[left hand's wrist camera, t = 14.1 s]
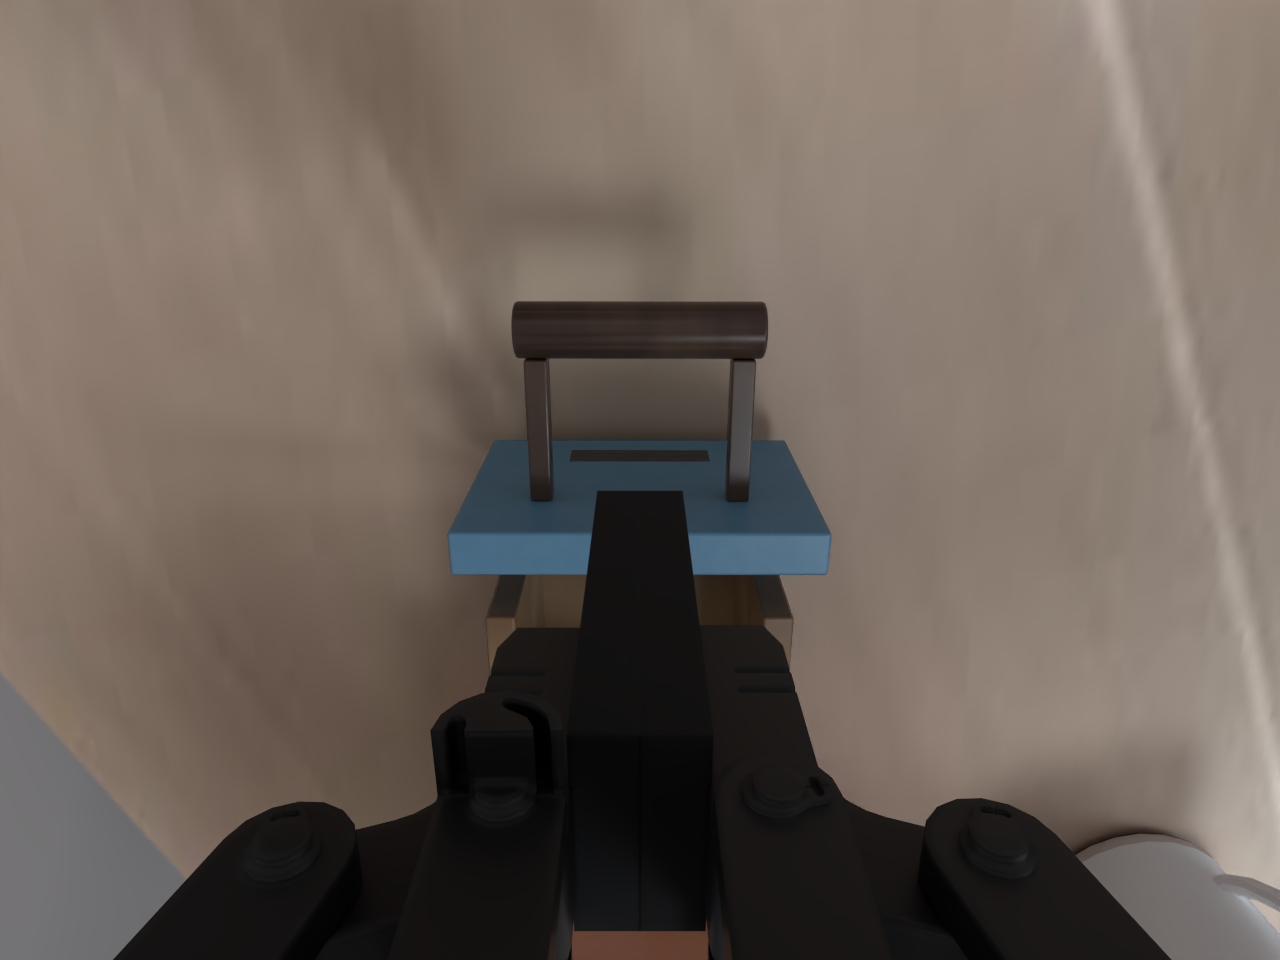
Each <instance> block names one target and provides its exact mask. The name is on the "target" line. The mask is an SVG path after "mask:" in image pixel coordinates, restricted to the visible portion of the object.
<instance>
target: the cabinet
mask: <svg viewBox="0 0 1280 960" xmlns="http://www.w3.org/2000/svg"><path fill="white" fill-rule="evenodd" d="M572 960H708V932H707V920H706V931H574V924H573V936H572Z"/></svg>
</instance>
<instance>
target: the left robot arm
mask: <svg viewBox="0 0 1280 960" xmlns="http://www.w3.org/2000/svg"><path fill="white" fill-rule="evenodd" d="M431 740H432V748H433V757H434V766H435V775H436V784H437V793H438V797H437V800H436V802H434V803H433V804H432V805H430V806H428V807H426V808H424V809H422V810H421V811H419V812H417V813H415V814H412V815H409V816H406V817H403V818H400V819H397V820H394V821H390V822H386V823H382V824H378V825H374V826H370V827H366V828H362V829H358V830H355V825H354V823H353V822H352V821H351V819H350V818H349V817H348V816H347V814H346V813H345V812H344V811H343V810H341V809H339V808H337V807H334V806H332V805H329V804H327V803H324V802H296V803H291V804H287V805H283V806H278V807H274V808H271V809H269V810H267V811H265V812H263V813H261V814H259V815H257V816H255V817H253V818H251V819H249V820H247V821H245V822H244V823H243V824H241V825H240V826H239V827H238V828H237V829H235V830H234V831H233V832H232V833H231V834H229V835H228V836H227V837H226V838H225V839H224V840H223V841H222V842H221V843H220V844H219V845H218V846H217V847H216V848H215V849H214V850H213V852H212V853H211V854H210V855H209V856H208V857H207V858H206V859H205V860H204V861H203V862H202V864H201V865H200V866H199V867H198V868H197V869H196V870H195V871H194V872H193V873H192V874H191V875H190V877H189V878H188V879H187V880H186V881H185V882H184V883H183V884H182V885H181V886H180V887H179V889H178V890H177V891H176V892H175V893H174V894H173V895H172V896H171V897H170V898H169V899H168V901H167V902H166V903H165V904H164V905H163V906H162V907H161V908H160V909H159V910H158V912H157V913H156V914H155V915H154V916H153V917H152V918H151V919H150V920H149V921H148V922H147V923H146V924H145V926H144V927H143V928H142V929H141V930H140V931H139V932H138V933H137V934H136V935H135V936H134V938H133V939H132V940H131V941H130V942H129V943H128V944H127V945H126V946H125V947H124V949H122V951H121V952H120V953H119V954H118V955H117V956H116V957H115V958H114V959H113V960H572V936H573V924H574V931H706V920H707V932H708V960H1171V958H1170V957H1169V956H1168V955H1167V954H1166V953H1165V952H1164V951H1163V950H1162V949H1161V948H1160V947H1159V945H1158V944H1157V943H1156V942H1155V941H1154V940H1153V939H1152V938H1151V937H1150V936H1149V935H1148V934H1147V932H1146V931H1145V930H1144V929H1143V928H1142V927H1141V926H1140V925H1139V924H1138V923H1137V922H1136V921H1135V920H1134V918H1133V917H1132V916H1131V915H1130V914H1129V913H1128V912H1127V911H1126V910H1125V909H1124V908H1123V907H1122V905H1121V904H1120V903H1119V902H1118V901H1117V900H1116V899H1115V898H1114V897H1113V896H1112V895H1111V894H1110V892H1109V891H1108V890H1107V889H1106V888H1105V887H1104V886H1103V885H1102V884H1101V883H1100V882H1099V881H1098V879H1097V878H1096V877H1095V876H1094V875H1093V874H1092V873H1091V872H1090V871H1089V870H1088V869H1087V868H1086V867H1085V865H1084V864H1083V863H1082V862H1081V861H1080V860H1079V859H1078V858H1077V857H1076V856H1075V855H1074V854H1073V852H1072V851H1071V850H1070V849H1069V848H1068V847H1067V846H1066V845H1065V844H1064V843H1063V842H1062V841H1061V839H1060V838H1059V837H1058V836H1057V835H1056V834H1054V833H1053V832H1052V831H1051V830H1050V829H1048V828H1047V827H1046V826H1045V825H1044V824H1042V823H1041V822H1040V821H1039V820H1037V819H1036V818H1035V817H1033V816H1031V815H1029V814H1027V813H1025V812H1023V811H1021V810H1019V809H1017V808H1015V807H1013V806H1010V805H1008V804H1004V803H1000V802H995V801H991V800H987V799H982V798H974V799H956V800H953V801H951V802H948V803H946V804H943V805H941V806H938V807H937V808H936V809H935V810H934V812H933V813H932V814H931V815H930V817H929V818H928V819H927V820H926V825H925V827H924V826H920V825H915V824H911V823H907V822H903V821H899V820H895V819H891V818H887V817H884V816H881V815H878V814H875V813H872V812H869V811H866V810H864V809H862V808H860V807H858V806H856V805H854V804H853V803H851V802H849V801H847V800H846V799H845V798H843V796H842V794H841V792H840V790H839V789H838V787H837V785H836V784H835V782H834V780H833V779H832V777H830V776H829V775H828V774H827V773H825V772H824V771H823V770H822V769H820V768H819V767H818V765H817V762H816V758H815V755H814V751H813V748H812V744H811V741H810V737H809V734H808V730H807V727H806V724H805V720H804V717H803V713H802V710H801V706H800V703H799V699H798V696H797V692H795V685H794V682H793V679H792V675H791V673H790V668H789V665H788V661H787V658H786V654H785V651H784V647H783V645H782V644H781V643H780V642H779V641H778V640H777V639H776V638H775V637H774V636H773V635H772V634H771V633H770V632H769V631H768V630H767V629H766V628H765V627H764V626H763V625H700V624H699V616H698V608H697V600H696V592H695V584H694V576H693V568H692V560H691V552H690V544H689V536H688V528H687V520H686V512H685V504H684V497H683V491H597V497H596V504H595V512H594V520H593V528H592V536H591V544H590V552H589V560H588V568H587V576H586V584H585V592H584V600H583V608H582V616H581V624H580V628H517V629H516V630H515V631H514V632H513V633H512V634H511V635H510V636H509V637H508V638H507V639H506V640H505V641H504V642H503V643H502V644H501V645H500V646H499V647H498V648H497V651H496V654H495V658H494V661H493V665H492V668H491V675H490V676H489V679H488V682H487V686H486V689H485V693H482V694H479V695H476V696H473V697H471V698H468V699H465V700H462V701H460V702H458V703H457V704H455V705H454V706H452V707H451V708H450V709H448V710H447V711H445V712H444V713H443V714H441V715H440V717H439V718H438V720H437V721H436V723H435V724H434V726H433V727H432V729H431Z"/></svg>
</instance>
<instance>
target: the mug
mask: <svg viewBox="0 0 1280 960" xmlns="http://www.w3.org/2000/svg"><path fill="white" fill-rule="evenodd" d="M1075 856H1076V857H1077V858H1078V859H1079V860H1080V861H1081V862H1082V863H1083V864H1084V865H1085V867H1086V868H1087V869H1088V870H1089V871H1090V872H1091V873H1092V874H1093V875H1094V876H1095V877H1096V878H1097V879H1098V881H1099V882H1100V883H1101V884H1102V885H1103V886H1104V887H1105V888H1106V889H1107V890H1108V891H1109V892H1110V894H1111V895H1112V896H1113V897H1114V898H1115V899H1116V900H1117V901H1118V902H1119V903H1120V904H1121V905H1122V907H1123V908H1124V909H1125V910H1126V911H1127V912H1128V913H1129V914H1130V915H1131V916H1132V917H1133V918H1134V920H1135V921H1136V922H1137V923H1138V924H1139V925H1140V926H1141V927H1142V928H1143V929H1144V930H1145V931H1146V932H1147V934H1148V935H1149V936H1150V937H1151V938H1152V939H1153V940H1154V941H1155V942H1156V943H1157V944H1158V945H1159V947H1160V948H1161V949H1162V950H1163V951H1164V952H1165V953H1166V954H1167V955H1168V956H1169V957H1170V958H1171V960H1280V933H1279V932H1278V931H1277V930H1276V929H1275V927H1274V926H1273V925H1272V924H1271V923H1270V922H1269V921H1268V920H1267V918H1266V917H1265V916H1264V915H1263V914H1262V913H1261V912H1260V911H1259V909H1258V908H1257V907H1256V906H1255V905H1254V904H1253V903H1252V902H1251V900H1250V899H1253V900H1257V901H1259V902H1261V903H1263V904H1265V905H1267V906H1269V907H1271V908H1273V909H1275V910H1277V911H1279V912H1280V890H1278V889H1276V888H1274V887H1271V886H1269V885H1267V884H1264V883H1262V882H1260V881H1258V880H1255V879H1253V878H1248V877H1242V876H1236V875H1229V874H1227V873H1226V872H1225V871H1224V870H1223V869H1222V868H1221V867H1220V866H1219V864H1218V863H1217V862H1216V861H1215V860H1214V859H1213V858H1212V856H1211V855H1210V854H1209V853H1207V852H1205V851H1204V850H1202V849H1200V848H1199V847H1197V846H1195V845H1194V844H1192V843H1190V842H1187V841H1185V840H1181V839H1177V838H1174V837H1170V836H1167V835H1158V834H1134V835H1128V836H1121V837H1115V838H1112V839H1109V840H1106V841H1103V842H1101V843H1098V844H1095V845H1092V846H1090V847H1088V848H1086V849H1085V850H1083V851H1081V852H1080V853H1078V854H1076V855H1075ZM1249 898H1250V899H1249Z"/></svg>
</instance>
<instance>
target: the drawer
mask: <svg viewBox="0 0 1280 960" xmlns="http://www.w3.org/2000/svg"><path fill="white" fill-rule="evenodd" d="M767 340H768V313H767V308H766V305H765V303H763V302H582V301H518V302H515V304H514V306H513V310H512V343H513V350H514V353H515V356H516V357H517V358H526V359H525V360H524V381H525V400H526V420H527V440H496V441H494V443H493V445H492V447H491V449H490V451H489V453H488V455H487V457H486V459H485V461H484V463H483V465H482V467H481V469H480V471H479V473H478V475H477V477H476V479H475V481H474V483H473V485H472V487H471V489H470V491H469V493H468V495H467V497H466V499H465V501H464V502H463V504H462V506H461V508H460V510H459V512H458V514H457V516H456V518H455V520H454V522H453V524H452V526H451V528H450V530H449V532H448V545H449V556H450V567H451V572H452V574H493V575H500V576H499V579H498V582H497V585H496V588H495V591H494V594H493V597H492V600H491V603H490V607H489V610H488V613H487V616H486V632H487V645H488V658H489V671H490V675H491V668H492V665H493V661H494V658H495V654H496V651H497V648H498V647H499V646H500V645H501V644H502V643H503V642H504V641H505V640H506V639H507V638H508V637H509V636H510V635H511V634H512V633H513V632H514V631H515V630H516V629H517V628H580V624H581V616H582V608H583V600H584V592H585V584H586V576H587V568H588V560H589V552H590V544H591V536H592V528H593V520H594V512H595V504H596V497H597V491H683V497H684V504H685V512H686V520H687V528H688V536H689V544H690V552H691V560H692V568H693V576H694V584H695V592H696V600H697V608H698V616H699V624H700V625H763V626H764V627H765V628H766V629H767V630H768V631H769V632H770V633H771V634H772V635H773V636H774V637H775V638H776V639H777V640H778V641H779V642H780V643H781V644H782V645H783V647H784V651H785V654H786V658H787V661H788V665H789V668H790V657H791V644H792V631H793V616H792V613H791V610H790V607H789V604H788V601H787V598H786V595H785V592H784V589H783V586H782V583H781V579H780V576H779V575H826V574H827V573H828V567H829V557H830V546H831V536H832V535H831V533H830V531H829V529H828V527H827V525H826V523H825V521H824V519H823V517H822V515H821V513H820V511H819V509H818V507H817V505H816V503H815V501H814V499H813V497H812V495H811V493H810V491H809V489H808V487H807V485H806V483H805V481H804V479H803V477H802V475H801V473H800V471H799V469H798V467H797V465H796V463H795V461H794V459H793V457H792V455H791V453H790V451H789V449H788V447H787V445H786V443H785V441H752V430H753V411H754V392H755V374H756V361H755V359H761V358H763V357H764V355H765V352H766V348H767ZM549 358H551V359H730V381H729V405H728V429H727V441H723V440H552V422H551V396H550V371H549Z"/></svg>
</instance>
